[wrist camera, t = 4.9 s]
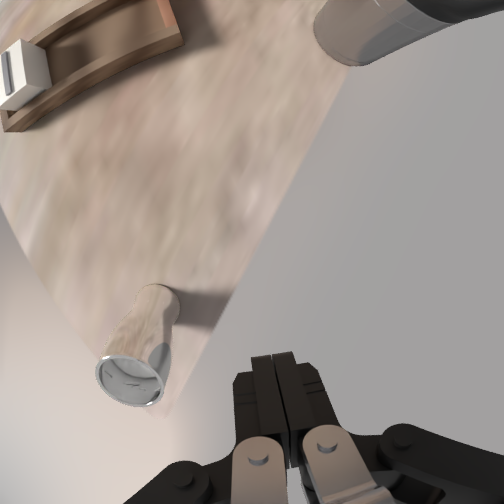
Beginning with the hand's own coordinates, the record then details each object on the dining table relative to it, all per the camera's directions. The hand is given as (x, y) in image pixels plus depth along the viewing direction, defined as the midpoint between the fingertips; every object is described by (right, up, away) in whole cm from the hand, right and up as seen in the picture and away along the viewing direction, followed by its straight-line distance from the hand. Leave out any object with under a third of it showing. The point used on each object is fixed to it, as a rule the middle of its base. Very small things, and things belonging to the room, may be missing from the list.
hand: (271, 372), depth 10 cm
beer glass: (-13, -2, +27) cm, 30 cm away
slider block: (-28, +26, +14) cm, 40 cm away
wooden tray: (-21, +29, +16) cm, 39 cm away
